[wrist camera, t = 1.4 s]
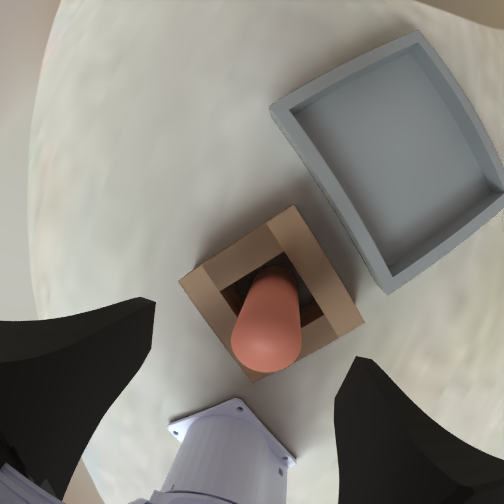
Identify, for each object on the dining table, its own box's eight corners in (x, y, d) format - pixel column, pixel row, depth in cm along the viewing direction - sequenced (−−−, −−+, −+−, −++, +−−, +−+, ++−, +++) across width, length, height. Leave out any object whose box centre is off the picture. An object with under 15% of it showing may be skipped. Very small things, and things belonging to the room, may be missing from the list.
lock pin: (305, 295, 20) (314, 352, 13) (267, 317, 21) (256, 382, 13) (281, 257, 20) (277, 297, 12) (243, 281, 21) (217, 331, 13)
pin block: (355, 305, 20) (364, 322, 17) (257, 360, 22) (252, 382, 19) (293, 204, 19) (294, 205, 16) (192, 269, 21) (178, 281, 18)
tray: (496, 196, 17) (515, 197, 15) (376, 283, 20) (387, 295, 17) (406, 44, 16) (418, 29, 14) (271, 116, 18) (268, 106, 16)
